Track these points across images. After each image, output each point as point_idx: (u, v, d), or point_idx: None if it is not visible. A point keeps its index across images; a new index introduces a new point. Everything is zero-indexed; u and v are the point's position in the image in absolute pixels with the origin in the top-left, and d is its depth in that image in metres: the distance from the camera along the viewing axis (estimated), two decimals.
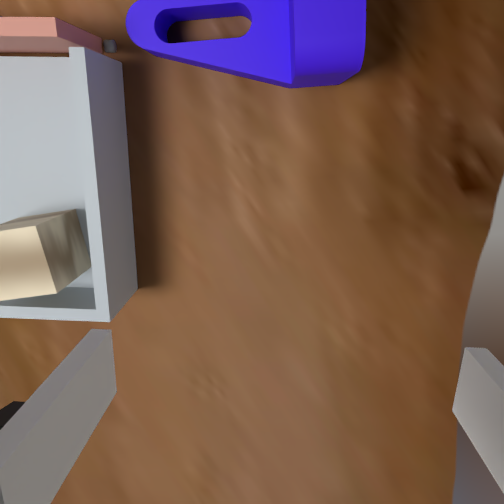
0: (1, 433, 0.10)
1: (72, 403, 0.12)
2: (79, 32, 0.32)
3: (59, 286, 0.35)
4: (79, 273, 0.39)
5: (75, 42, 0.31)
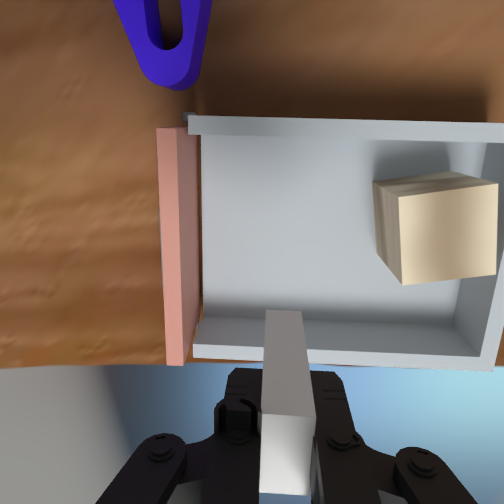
0: (265, 388, 0.12)
1: None
2: (174, 127, 0.28)
3: (486, 182, 0.26)
4: (463, 175, 0.29)
5: (183, 128, 0.27)
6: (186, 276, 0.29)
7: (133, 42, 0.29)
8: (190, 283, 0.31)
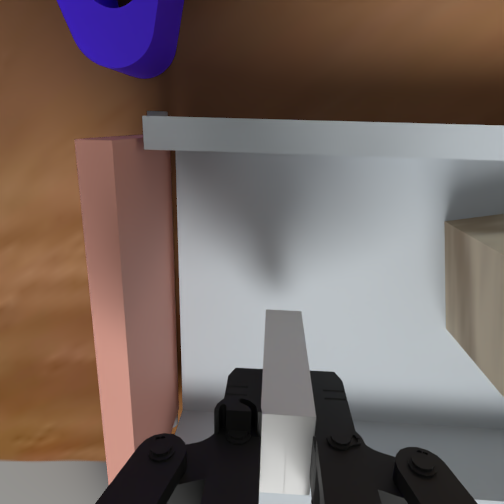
0: (265, 388, 0.12)
1: None
2: (122, 136, 0.16)
3: None
4: None
5: (137, 138, 0.16)
6: (146, 381, 0.18)
7: None
8: (156, 383, 0.20)
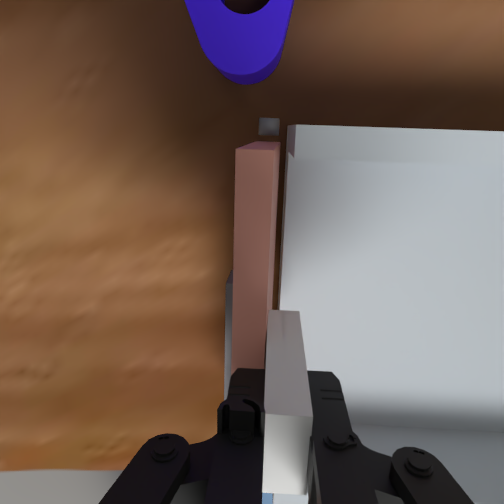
0: (268, 388, 0.12)
1: None
2: (255, 144, 0.16)
3: None
4: None
5: (275, 146, 0.15)
6: None
7: (189, 0, 0.17)
8: None
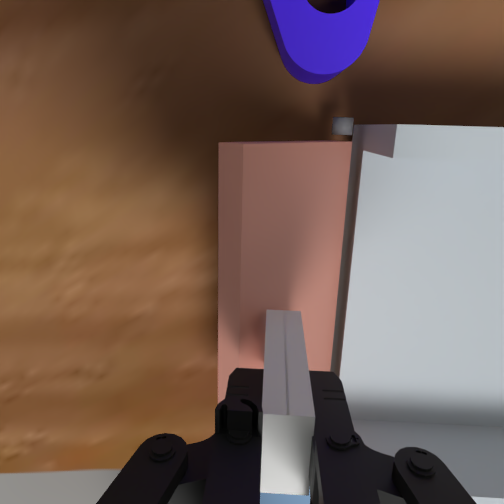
0: (266, 388, 0.12)
1: None
2: (284, 141, 0.17)
3: None
4: None
5: (289, 143, 0.16)
6: None
7: (275, 0, 0.17)
8: None
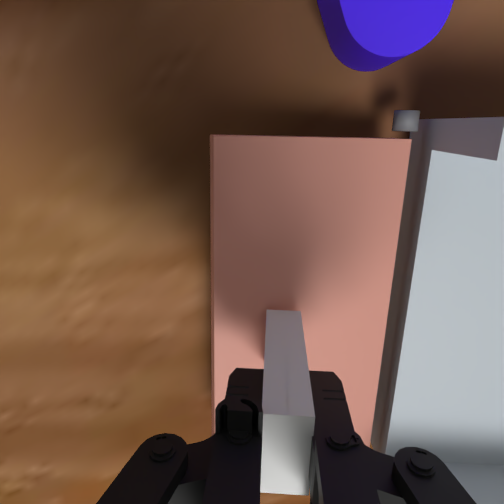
0: (266, 388, 0.12)
1: None
2: (301, 136, 0.16)
3: None
4: None
5: (287, 137, 0.15)
6: None
7: None
8: None
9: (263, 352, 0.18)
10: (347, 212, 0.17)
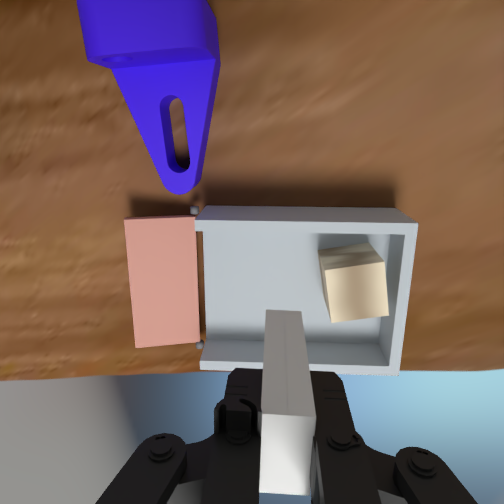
0: (265, 388, 0.12)
1: None
2: (157, 216, 0.48)
3: (379, 260, 0.42)
4: (372, 249, 0.45)
5: (149, 218, 0.47)
6: (148, 301, 0.50)
7: (158, 168, 0.45)
8: (162, 309, 0.50)
9: (149, 293, 0.49)
10: (175, 242, 0.48)
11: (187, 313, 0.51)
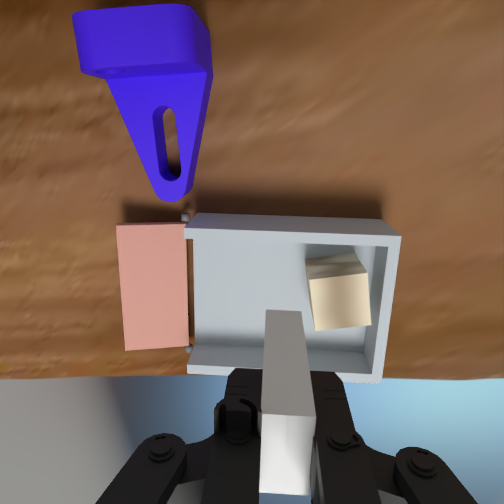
0: (265, 388, 0.12)
1: None
2: (148, 223, 0.49)
3: (362, 271, 0.43)
4: (357, 259, 0.46)
5: (140, 225, 0.48)
6: (138, 305, 0.51)
7: (150, 176, 0.46)
8: (151, 313, 0.51)
9: (139, 297, 0.50)
10: (165, 248, 0.49)
11: (176, 317, 0.52)
